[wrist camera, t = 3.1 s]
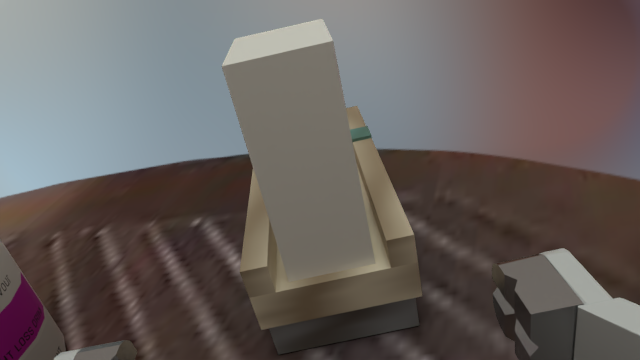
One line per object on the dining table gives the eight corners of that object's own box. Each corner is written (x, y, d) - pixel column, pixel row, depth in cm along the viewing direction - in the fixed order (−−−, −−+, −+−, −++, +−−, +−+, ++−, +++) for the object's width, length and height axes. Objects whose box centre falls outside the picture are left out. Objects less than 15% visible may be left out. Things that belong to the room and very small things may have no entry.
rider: (288, 282, 21) (221, 66, 16) (287, 222, 25) (234, 38, 21) (375, 263, 21) (333, 40, 16) (359, 206, 25) (322, 18, 21)
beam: (271, 359, 22) (237, 268, 20) (276, 190, 37) (257, 125, 35) (427, 327, 22) (414, 230, 20) (368, 169, 37) (356, 103, 35)
